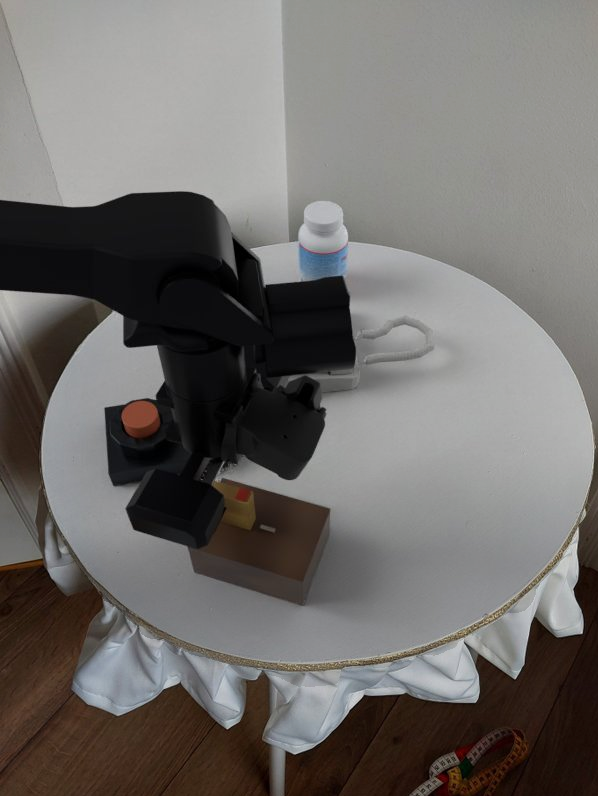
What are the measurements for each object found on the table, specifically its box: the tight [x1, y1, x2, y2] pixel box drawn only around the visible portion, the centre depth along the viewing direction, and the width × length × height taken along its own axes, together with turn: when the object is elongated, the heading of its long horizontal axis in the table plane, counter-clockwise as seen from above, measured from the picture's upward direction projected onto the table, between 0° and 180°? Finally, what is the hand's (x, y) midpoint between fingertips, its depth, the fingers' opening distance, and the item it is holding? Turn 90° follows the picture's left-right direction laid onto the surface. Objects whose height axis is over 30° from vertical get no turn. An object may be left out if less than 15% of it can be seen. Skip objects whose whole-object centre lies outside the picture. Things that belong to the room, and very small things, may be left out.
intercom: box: [284, 315, 435, 393], centre depth 85 cm, size 13×4×25 cm
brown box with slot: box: [187, 477, 332, 606], centre depth 69 cm, size 13×8×5 cm, turn 72°
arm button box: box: [103, 397, 230, 487], centre depth 77 cm, size 12×9×4 cm
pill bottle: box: [297, 200, 349, 282], centre depth 90 cm, size 6×6×11 cm
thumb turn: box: [213, 480, 256, 530], centre depth 65 cm, size 5×1×5 cm, turn 72°
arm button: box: [122, 401, 160, 438], centre depth 74 cm, size 4×4×2 cm
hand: (224, 493), depth 64 cm, fingers open, 9 cm apart
